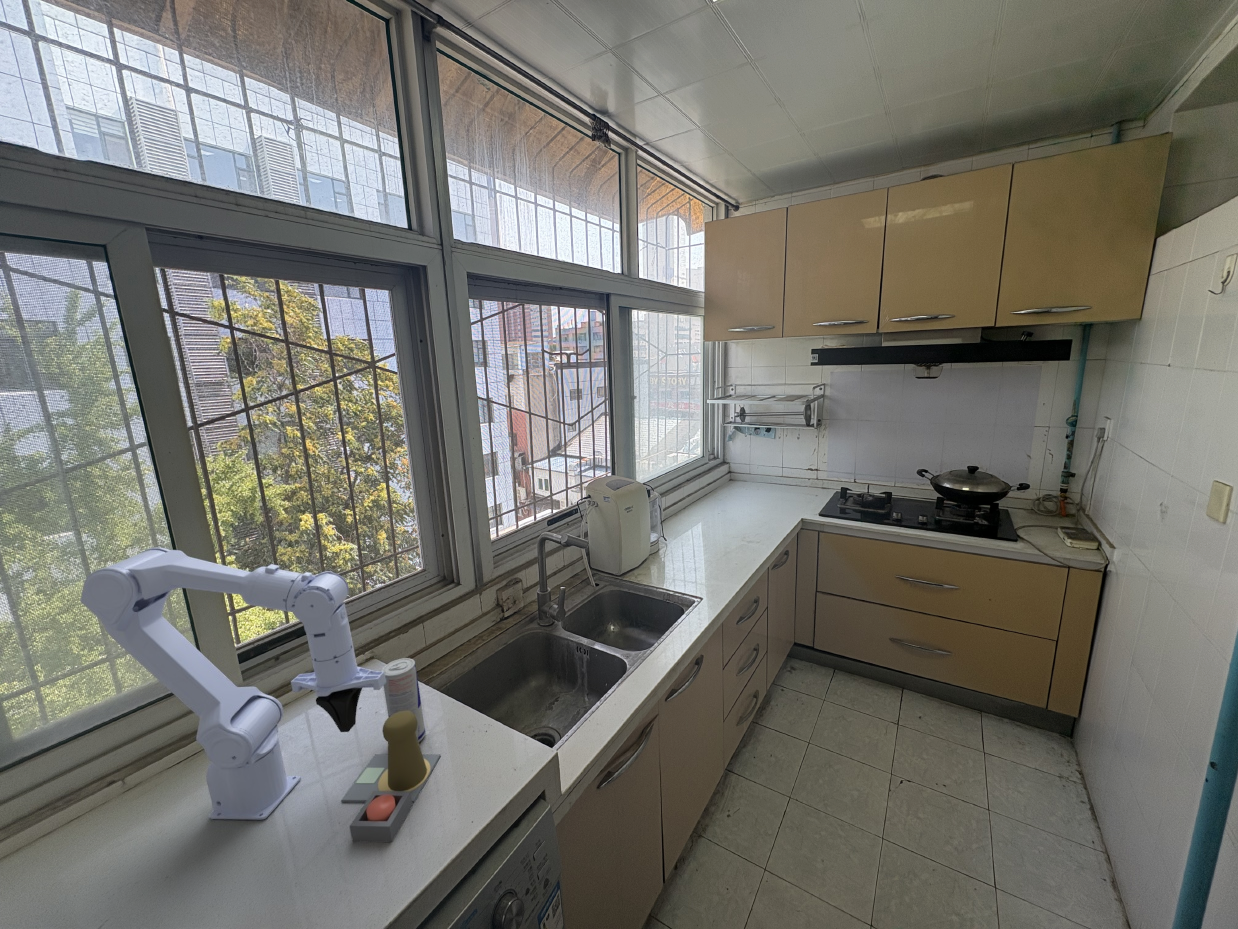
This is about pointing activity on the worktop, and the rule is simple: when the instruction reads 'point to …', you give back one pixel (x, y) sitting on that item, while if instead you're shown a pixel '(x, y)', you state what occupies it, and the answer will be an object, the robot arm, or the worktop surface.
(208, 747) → the robot arm
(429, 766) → the grey kitchen scale
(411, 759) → the olive knobbed peg
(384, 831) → the button housing
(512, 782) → the worktop surface
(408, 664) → the beverage can
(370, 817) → the button
